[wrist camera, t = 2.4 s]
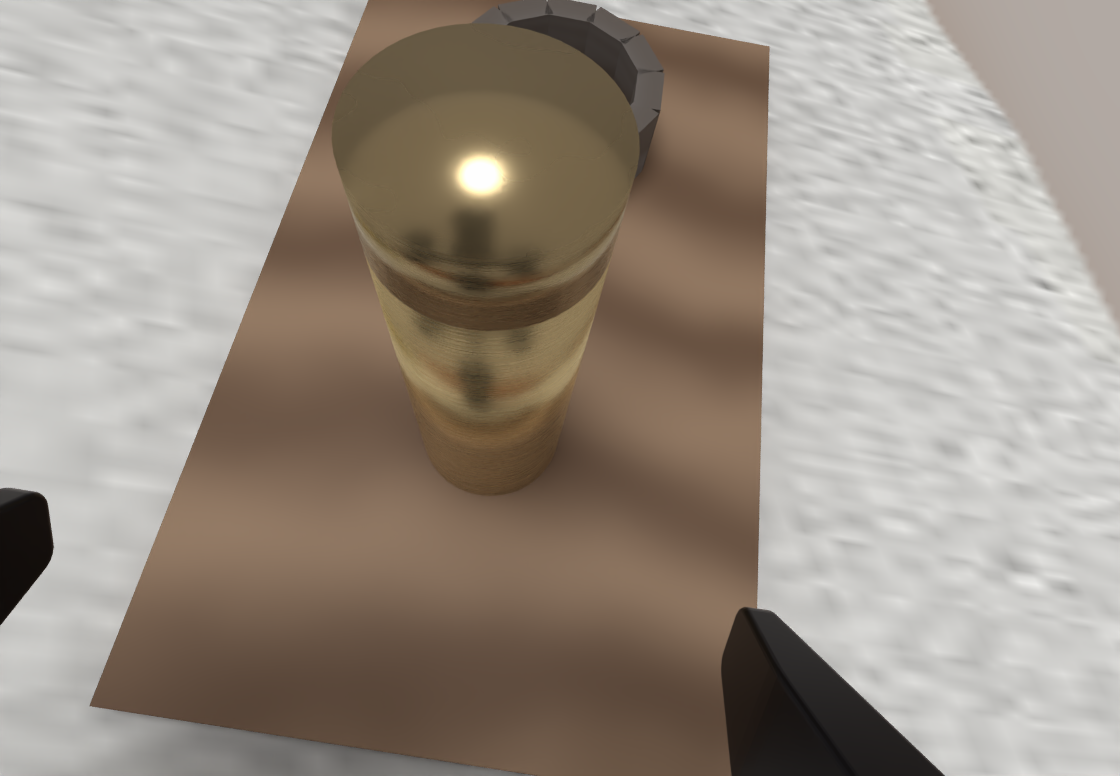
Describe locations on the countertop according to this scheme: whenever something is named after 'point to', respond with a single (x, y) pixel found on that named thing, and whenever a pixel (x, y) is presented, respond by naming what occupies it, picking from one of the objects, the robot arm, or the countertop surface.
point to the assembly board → (476, 520)
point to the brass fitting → (486, 231)
